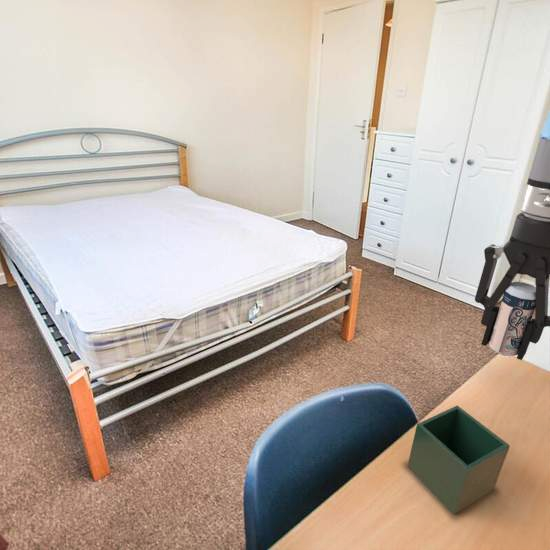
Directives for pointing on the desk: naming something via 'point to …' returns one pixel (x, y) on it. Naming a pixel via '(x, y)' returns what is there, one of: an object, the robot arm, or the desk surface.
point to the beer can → (513, 318)
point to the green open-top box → (456, 457)
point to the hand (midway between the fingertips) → (503, 348)
